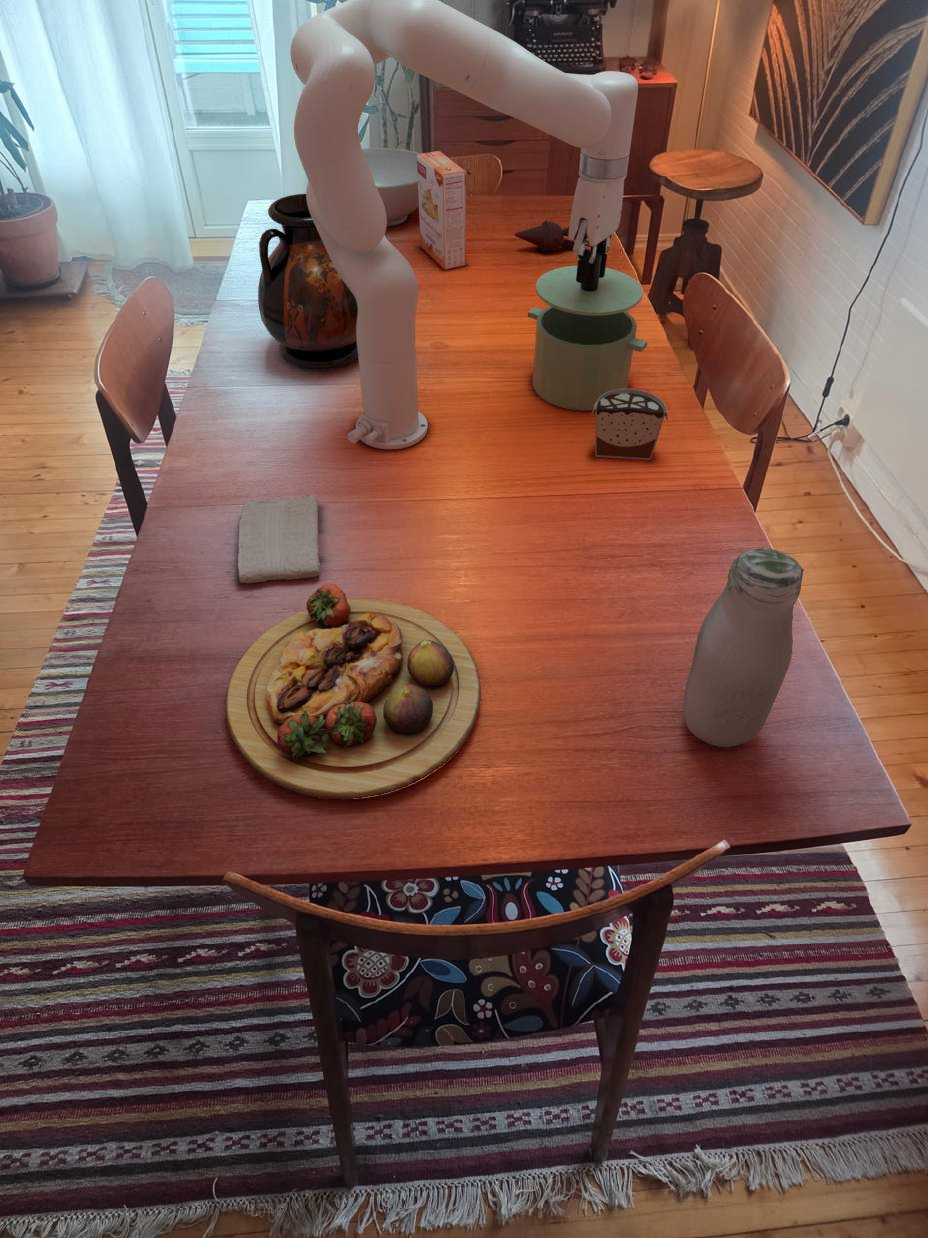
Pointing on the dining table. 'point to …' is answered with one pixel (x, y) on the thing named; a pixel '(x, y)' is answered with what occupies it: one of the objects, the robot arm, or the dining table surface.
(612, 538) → the dining table surface
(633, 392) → the food container
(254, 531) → the washcloth
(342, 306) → the amphora vase
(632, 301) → the lid
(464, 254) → the cracker box
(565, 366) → the pot
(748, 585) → the glass bottle
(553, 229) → the icecream
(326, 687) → the wooden plate
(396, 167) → the decorative bowl
